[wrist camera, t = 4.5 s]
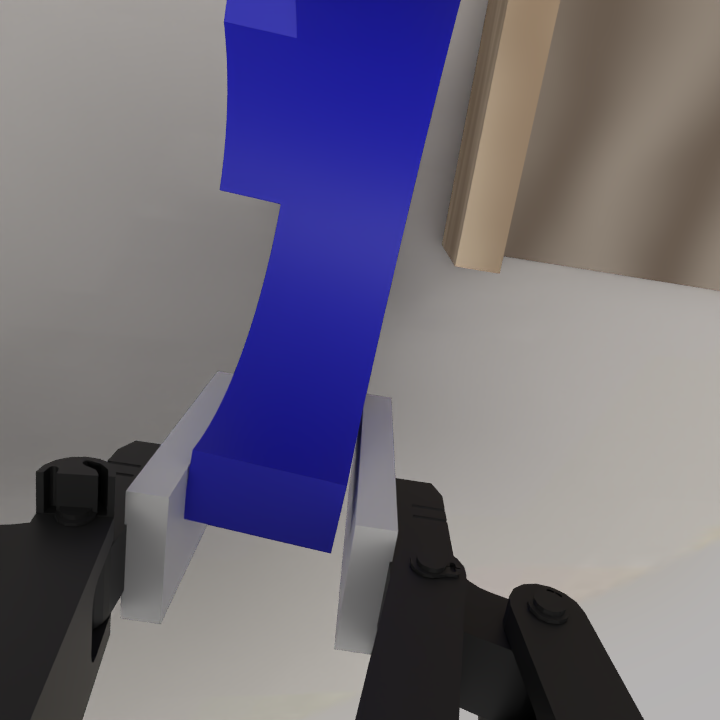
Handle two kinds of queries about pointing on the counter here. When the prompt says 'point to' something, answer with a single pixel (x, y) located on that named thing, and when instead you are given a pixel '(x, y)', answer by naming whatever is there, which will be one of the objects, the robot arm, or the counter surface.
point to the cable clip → (315, 244)
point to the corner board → (593, 140)
